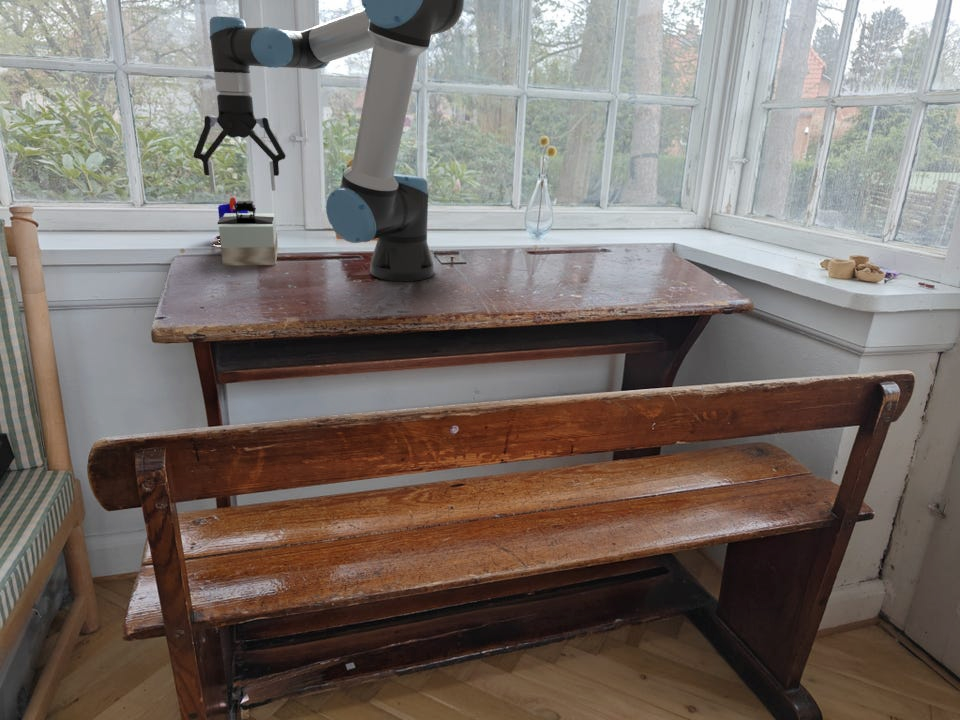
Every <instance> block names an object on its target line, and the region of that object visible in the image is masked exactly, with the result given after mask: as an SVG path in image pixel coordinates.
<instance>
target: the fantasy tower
mask: <svg viewBox="0 0 960 720" xmlns="http://www.w3.org/2000/svg"><path fill="white" fill-rule="evenodd" d="M236 203H237V201H236V198H235V197H233V196H231V197H230V199H229V203H226V204H225V203H224V204H218V207H217V211H218V212H217V213H218V220H219V219H220V218H221V217H223V216H224V214H225V213H236V211H235V209H236V208H235V207H236ZM239 213H249V211H241V212H239ZM215 238H217V239H220V235H216V237H215ZM217 239H216V240H217ZM218 241H219V242H220V240H218ZM218 241H217V242H216V241H215V242H214V243H213V244H215V245H221V242H220V243H218Z"/></svg>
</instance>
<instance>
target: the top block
mask: <svg viewBox="0 0 960 720" xmlns="http://www.w3.org/2000/svg"><path fill="white" fill-rule="evenodd" d="M240 214H242V215H250V214H252V215H253V212H250V213H249V212H248V213H239V215H240ZM229 216H236V213H225V214H224V216H223V217H229ZM255 216H264V217H274V219H273V224H218V225H219V226H218V233H219V236H220V242H221V247H220V249H221V248H246V247H274V246H275V236H276V233H277V231H276V218H275V217H276V215H275V213H273V212H271V213H270V212H269V213H267V212H266V213H263V212H261V213H259V212H258V213H257V212H255Z"/></svg>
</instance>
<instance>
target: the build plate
mask: <svg viewBox="0 0 960 720" xmlns="http://www.w3.org/2000/svg"><path fill="white" fill-rule="evenodd" d="M235 208H236V209H235V211H236V216H229V217H221V218H220V219H219V218H218V220H217V221H218V222H217V225H220V224H273V219H274V217H264V216H255V213H256V210H257V209H256V205H254V201H253V200H237V201H236V207H235ZM241 211H248V213H249V212H250V213H253V215H252V214H250V215H242V214H240V215H239V212H241Z"/></svg>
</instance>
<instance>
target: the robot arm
mask: <svg viewBox="0 0 960 720" xmlns="http://www.w3.org/2000/svg"><path fill="white" fill-rule="evenodd" d="M360 2H361V6H363V8H362V9H360V10H357V11H354V12H351V13H349V14H346V15H343V16H341V17H338V18H335V19H332V20H329V21H326V22H324V23H322V24H318V25H316V26H313V27H311V28H308V29H305V30H301V31H298V30H297V31H296V30H284V29H281V28H276V27H269V26H263V27H247V26H246V21H245V19H243V18H241V17H234V16H217V15H216V16H212V17H210V19H209V41H210V45H211V54H212V63H213V70H214V71H213V72H214V81H215V82H214V83H215V90H216V92H218V93H219V94H217V96H216V100H217V110H218V116H217V117H216V116H211V115H206V116H204V122H203V123H204V127H203V129H202V132H201V133H200V136H199V139H198V142H197V145H196V147H195V150H194V152H193V154H192V156H193V158H195V159H196V160H197V159H198V160H201V162H202V167H203V174H204V175H205V176H209V182H210V183H209V184H210V191H213V192H214V191H216V189H217V188H216V178H215V171H214V161H213V160H212V159H210V157H212V155H213V154H214V152H215V151H216V150H217V149H218V147H219V146H220V145H221V144H222V142H223V141H224V140H225V138H227V136H228V137H230V138H237V137H239V138H243V139H244V138H247V137H249V138H250V139H252V140H253V142H254V143H256V144H257V145H258V146H259V147H260V149H261V150H262V151H263V152H264V153H265V154H266V155H267V156H268V157H269V158H270V159H271V160H269V173H270V183H271V185H270V186H271V191H274V192H275V191H276V180H275V176H277V177H278V176H279V174H280V168H279V162H280V161H282V160H285V159H286V157H287V155H286V153H285V152H284V150H283V147H282V146H281V144H280V143H279V141H278V139H277V137H276V136H275V134H274V132H273V130H272V129H271V125H270V122H269V117H267V116H264V117H258V118H256V117H255V114H254V103H253V97H252V96H251V95H250V94H251V93H252V91H253V90H252V82H251V71H250V66H252V67H253V66H254V67H261V68H262V67H264V68H265V67H267V68H269V69H271V68H276V69H277V68H292V69H308V70H317V69H318V70H319V69H324V68H326V67H327V66H328V65H329V64H330V62H332V61H335V60H338V59H341V58H345V57H348V56H352V55H354V54H356V53H357V54H358V53H360V52H363V51H366V50H370V49H372V50H371V51H372V53H371V58H370V64H369V68H368V74H367V79H366V80H367V81H366V86H365V90H364V91H365V92H364V97H363V102H362V108H361V114H360V120H359V126H358V130H357V135H356V142H355V147H354V152H353V160H352V164H351V166H349V167H347V168H345V169H344V170H343V172H342V178H341V183H340V187H336V188H335V189H334V190H333V191H331V192H330V193H329V195H328V196H327V200H326V204H325V209H326V210H325V211H326V216H327V220H328V222H329V224H330V226H332V229H333V231H334V233H335V234H337V236H339V237H340V238H341V239H342V240H344V241H346V242H349V243H351V244H359V243H368V242H370V241H373V240H375V239H376V244H375V247H374V250H373V253H372V257H371V260H370V263H369V264H370V265H369V268H370V269H369V271H370V274H371V275H372V276H374V277H375V278H377V279H381V280H385V281H392V282H415V281H422V280H426V279H429V278H431V277H433V275H434V273H435V272H434V271H435V270H434V269H435V266H434V261H433V258H432V255H431V251H430V248H429V244H428V210H429V208H428V207H429V206H428V205H429V196H430V193H429V188H428V187H429V185H428V181H427V180H426V179H425V178H424V177H421V176H418V175H417V176H415V175H409V174H402V173H401V174H400V173H395V168H396V164H397V161H398V160H397V159H398V154H399V150H400V145H401V140H402V136H403V130H404V126H405V121H406V119H407V118H406V116H407V112H408V107H409V103H410V98H411V94H412V88H413V83H414V80H415V79H414V78H415V76H416V70H417V65H418V60H419V56H420V55H421V54H422V53H423V52H425V51H427V50H428V49H430V48H429V46H430V43H431V38H432V36H433V35H436V34H437V35H438V34H442V33H445V32H447V31H449V30H450V29H452V28H453V27H454V26H456V24H457V23H458V21H459V20H460V17H461V15H462V13H463V10H464V4H465V3H464V0H361V1H360ZM216 123H217V124H218V126H220V128H221V129H222V131H220V133H219V134H218V136H217V137H216V138H215V140H214V141H213V142H212V144H211V145H210V146H209V148H208V149H207V151H205V153H203V150H204V147H205V145H206V142H207V140H208V137H209V134H210V132H211V129H212V127H214V126H215V124H216ZM256 124H258V125H259V127H260V128H261V129H264V132H265V133H266V135H267V137H268V138H269V140H270V142H271V144H272V146H273V148H274V149H275V151H276V153H277V154H276V153H275V152H274V151H273V150H272V149H271V148H270V147H269V146H268V145H267V144H266V142H264V140H263V139H262V138H261V137H260V136H259V135H258V133H256V131H255V130H254V128H255V126H256Z"/></svg>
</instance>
